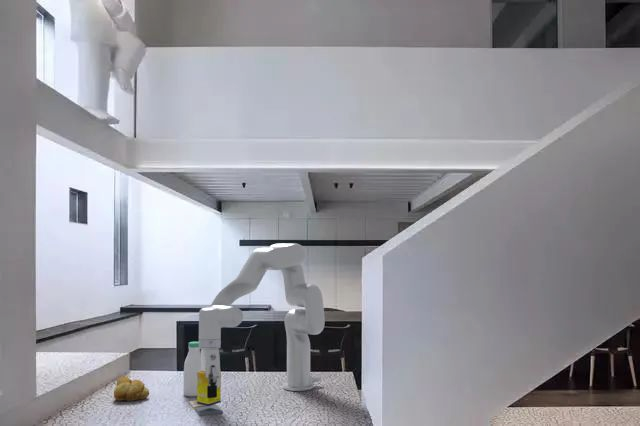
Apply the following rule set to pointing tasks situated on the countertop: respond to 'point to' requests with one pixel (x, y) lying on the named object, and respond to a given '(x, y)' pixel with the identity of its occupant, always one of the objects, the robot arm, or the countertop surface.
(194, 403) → the cream square tile
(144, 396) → the bread roll
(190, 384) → the milk bottle
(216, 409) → the slate mat
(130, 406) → the countertop surface
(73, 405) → the countertop surface
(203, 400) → the supplement box
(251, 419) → the countertop surface
